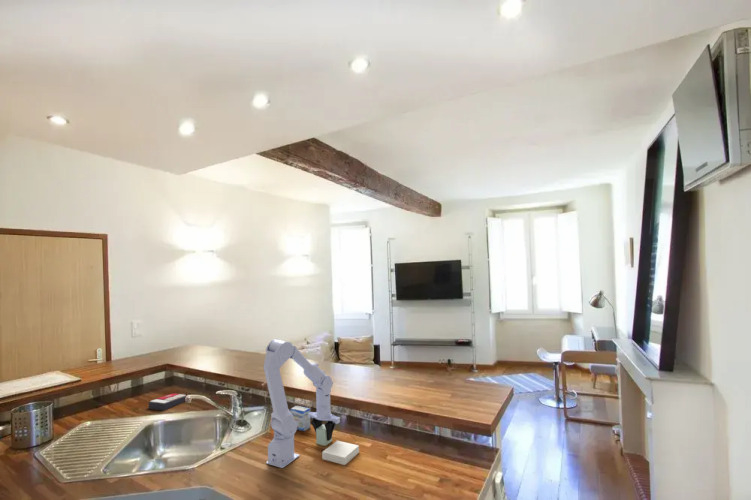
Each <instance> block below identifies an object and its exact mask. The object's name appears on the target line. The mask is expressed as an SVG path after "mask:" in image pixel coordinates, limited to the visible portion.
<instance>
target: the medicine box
mask: <svg viewBox="0 0 751 500" xmlns="http://www.w3.org/2000/svg"><path fill="white" fill-rule="evenodd" d="M290 412H291V413H292V415H293V418H294V420H295V421H296V422H297V430H298V431H303V432H305V431H307V430H309V429H310V428H311V418H308V413H310V412H311V408H310V407H304V406H298V405H295V406H292V407H291V408H290ZM297 430H296V431H297Z"/></svg>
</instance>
